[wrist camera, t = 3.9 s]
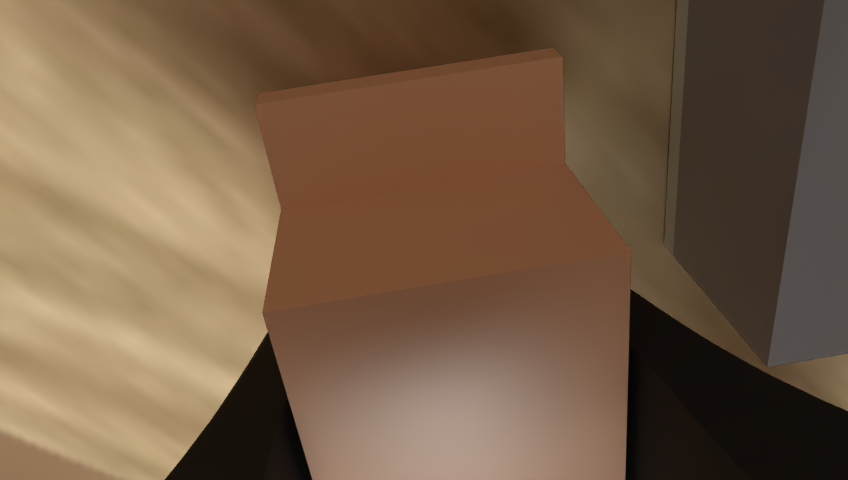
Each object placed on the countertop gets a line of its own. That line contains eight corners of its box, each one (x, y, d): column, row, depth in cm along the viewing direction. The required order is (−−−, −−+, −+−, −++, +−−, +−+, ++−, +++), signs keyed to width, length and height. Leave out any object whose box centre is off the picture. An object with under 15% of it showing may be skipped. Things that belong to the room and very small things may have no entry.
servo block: (522, 369, 17) (620, 648, 11) (364, 395, 17) (376, 692, 11) (495, -3, 13) (634, 120, 7) (282, 30, 13) (223, 185, 6)
